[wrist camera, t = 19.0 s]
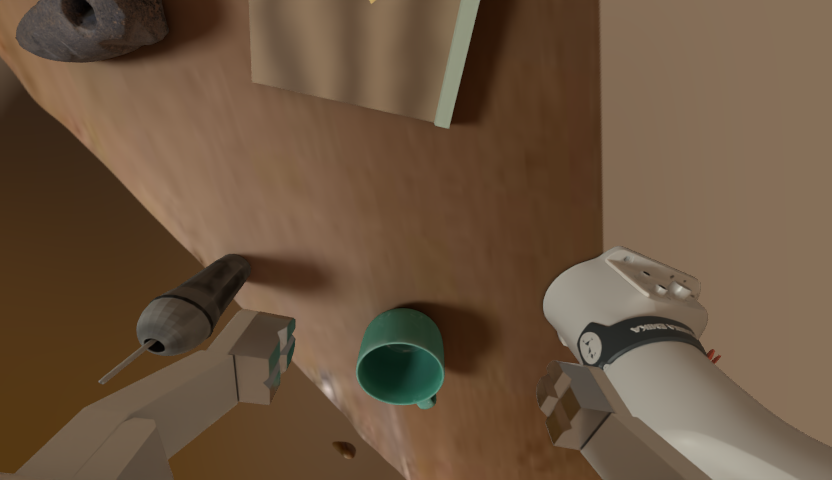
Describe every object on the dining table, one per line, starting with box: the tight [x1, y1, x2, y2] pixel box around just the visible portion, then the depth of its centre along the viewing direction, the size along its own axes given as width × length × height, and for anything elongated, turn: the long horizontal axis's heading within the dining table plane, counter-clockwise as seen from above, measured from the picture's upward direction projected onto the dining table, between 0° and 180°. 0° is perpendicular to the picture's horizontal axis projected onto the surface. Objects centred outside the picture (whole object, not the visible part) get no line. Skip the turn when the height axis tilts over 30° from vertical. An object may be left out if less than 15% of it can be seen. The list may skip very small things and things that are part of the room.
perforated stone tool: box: [15, 0, 169, 63], centre depth 29 cm, size 15×5×7 cm, turn 104°
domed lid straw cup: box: [99, 254, 251, 384], centre depth 36 cm, size 7×7×20 cm
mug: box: [356, 308, 445, 409], centre depth 47 cm, size 17×13×10 cm
